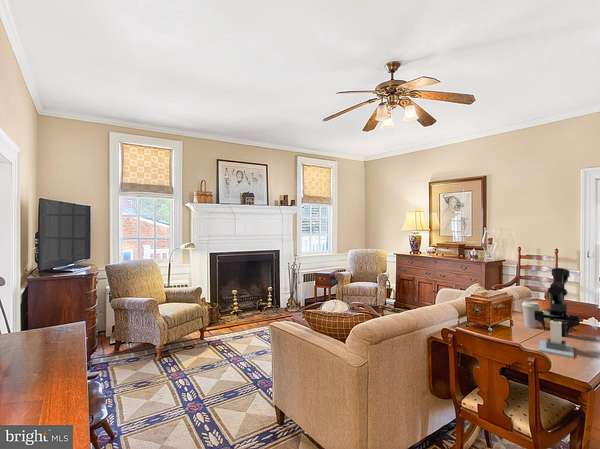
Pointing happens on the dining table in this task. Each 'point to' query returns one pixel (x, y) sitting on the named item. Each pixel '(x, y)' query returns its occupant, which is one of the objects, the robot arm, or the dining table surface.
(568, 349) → the outlet
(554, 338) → the charger
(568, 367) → the dining table surface
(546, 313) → the handheld radio
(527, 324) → the coffee cup
